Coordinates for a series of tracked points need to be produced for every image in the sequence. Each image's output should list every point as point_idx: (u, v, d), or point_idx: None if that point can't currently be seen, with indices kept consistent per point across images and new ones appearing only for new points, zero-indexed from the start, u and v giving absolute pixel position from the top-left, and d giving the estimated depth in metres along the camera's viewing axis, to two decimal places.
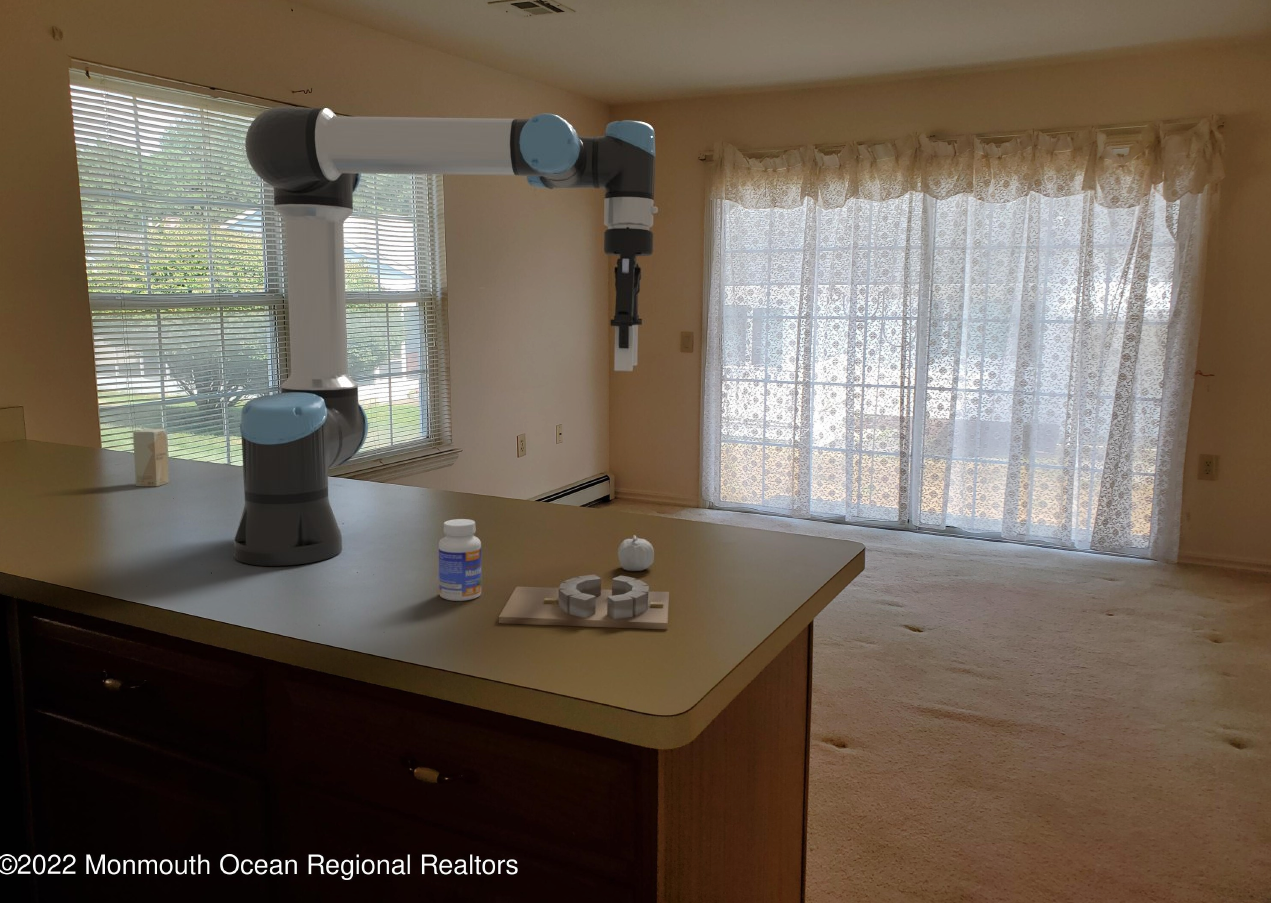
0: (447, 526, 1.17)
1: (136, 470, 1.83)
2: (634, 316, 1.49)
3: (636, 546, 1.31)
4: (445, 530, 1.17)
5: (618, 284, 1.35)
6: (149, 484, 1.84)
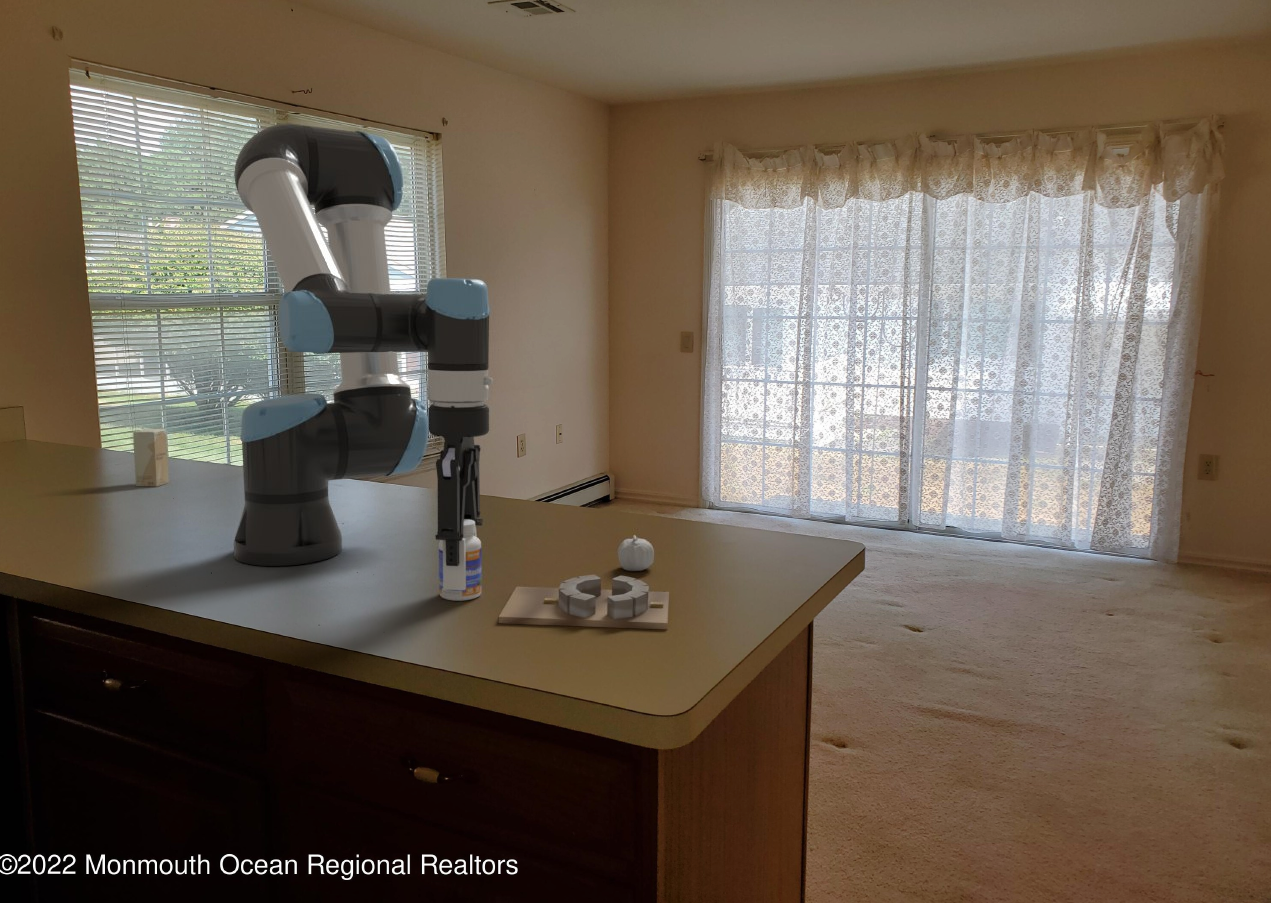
0: None
1: (136, 470, 1.83)
2: (471, 513, 1.21)
3: (636, 546, 1.31)
4: None
5: (439, 493, 1.11)
6: (149, 484, 1.84)
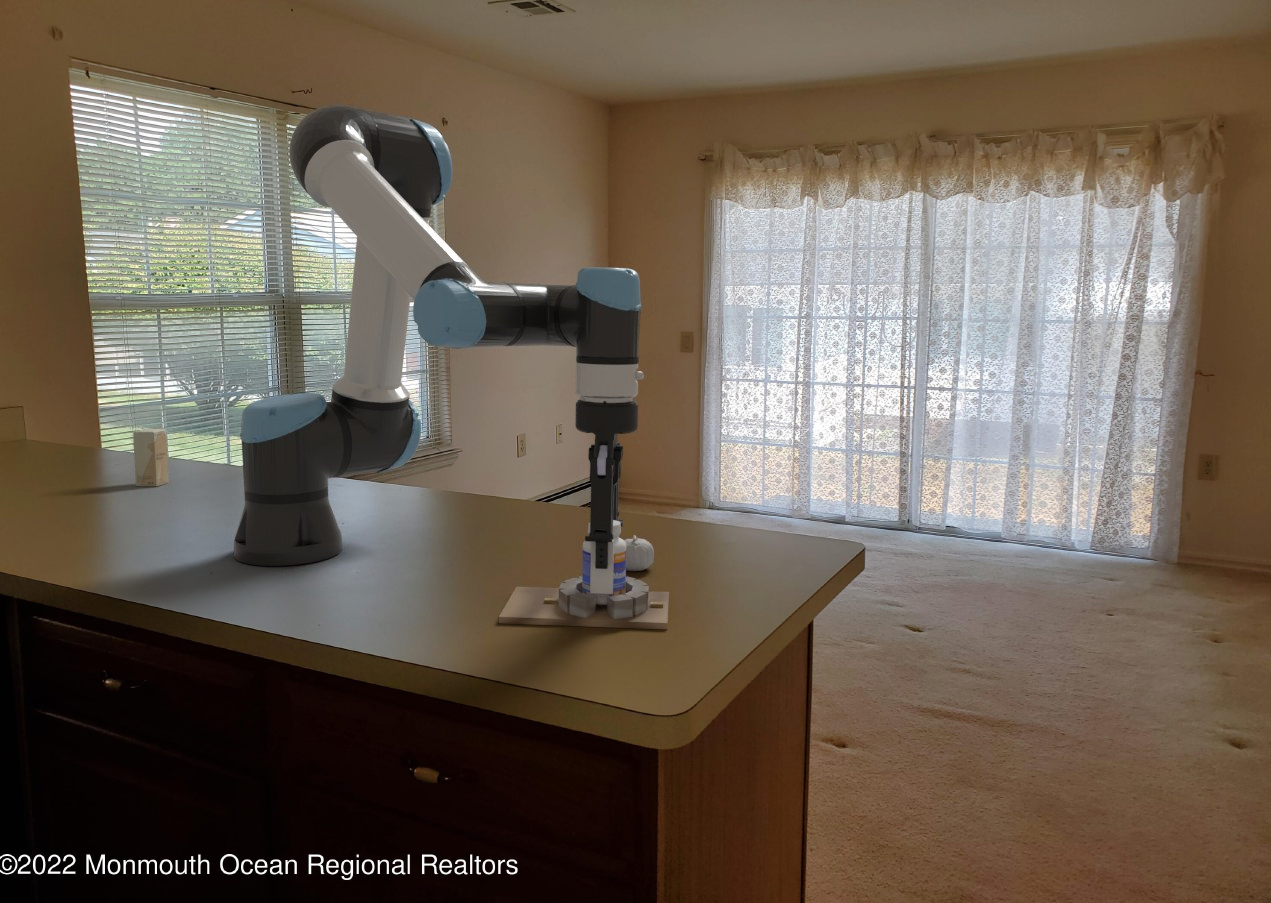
0: None
1: (136, 470, 1.83)
2: (613, 513, 1.16)
3: (636, 546, 1.31)
4: None
5: (593, 492, 1.06)
6: (149, 484, 1.84)
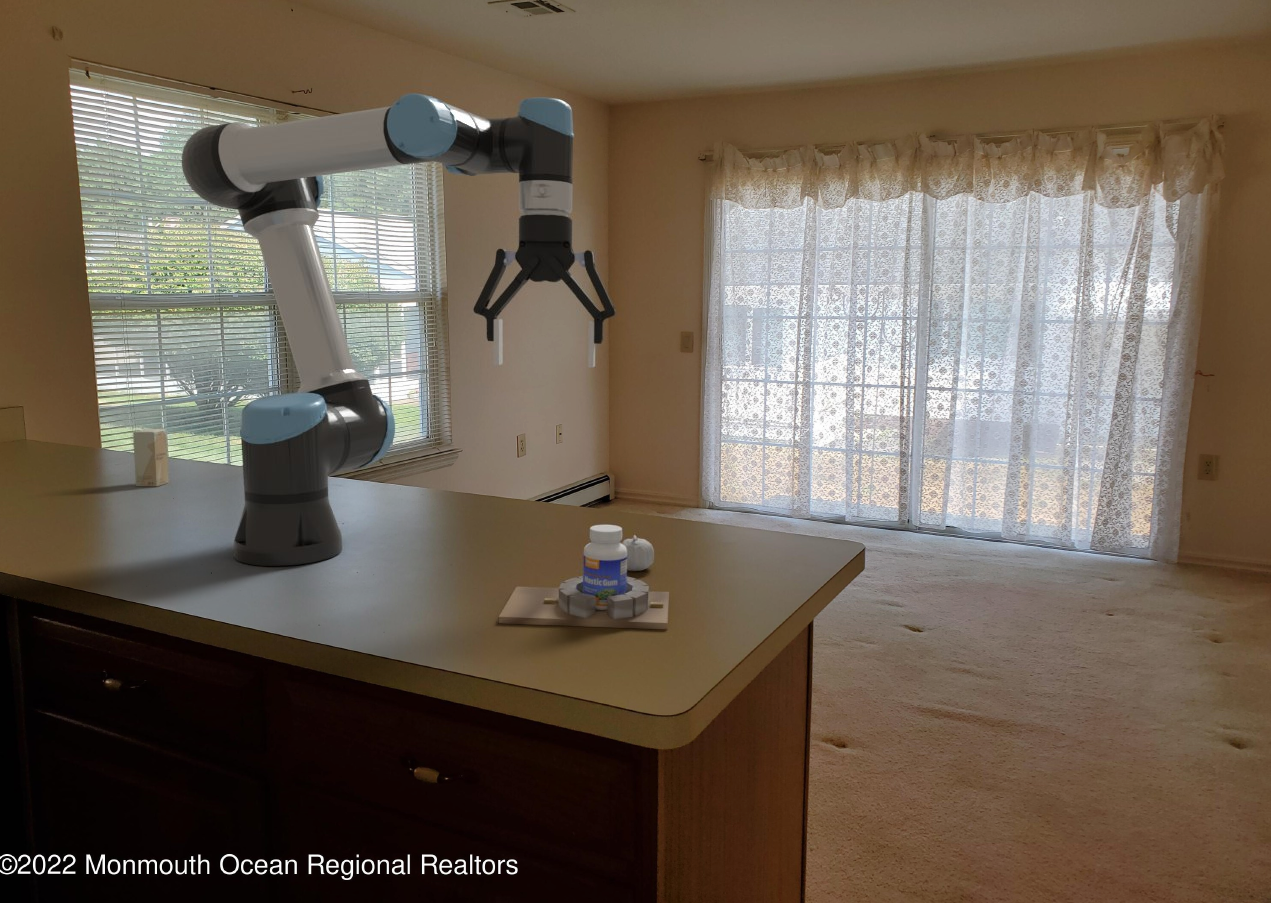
0: (594, 526, 1.14)
1: (136, 470, 1.83)
2: (588, 311, 1.31)
3: (636, 545, 1.31)
4: None
5: None
6: (149, 484, 1.84)
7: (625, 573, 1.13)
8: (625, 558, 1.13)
